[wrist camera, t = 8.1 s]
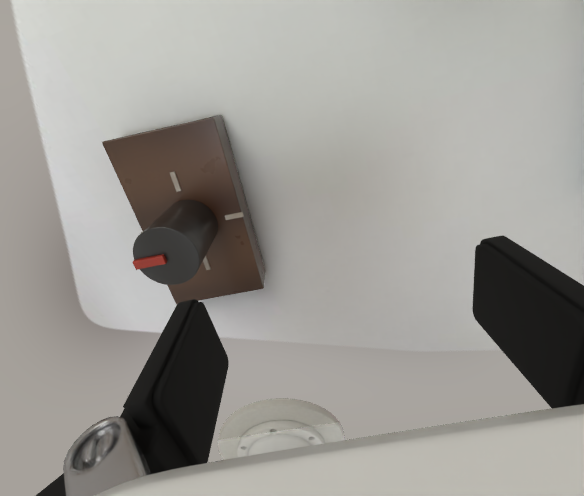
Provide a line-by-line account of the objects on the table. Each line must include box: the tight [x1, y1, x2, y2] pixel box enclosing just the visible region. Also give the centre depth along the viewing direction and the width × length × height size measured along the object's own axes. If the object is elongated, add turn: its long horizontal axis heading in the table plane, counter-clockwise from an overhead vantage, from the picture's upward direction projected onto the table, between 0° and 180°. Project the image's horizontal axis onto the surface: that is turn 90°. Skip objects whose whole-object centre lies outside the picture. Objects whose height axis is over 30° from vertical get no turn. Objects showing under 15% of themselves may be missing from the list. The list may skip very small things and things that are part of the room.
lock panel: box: [102, 115, 266, 304], centre depth 25 cm, size 14×8×3 cm, turn 11°
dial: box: [133, 200, 218, 285], centre depth 21 cm, size 4×4×6 cm
